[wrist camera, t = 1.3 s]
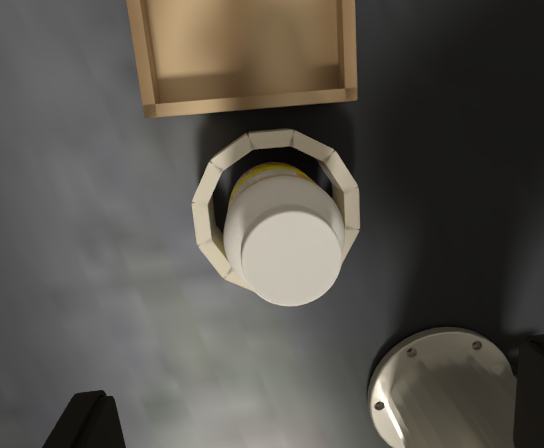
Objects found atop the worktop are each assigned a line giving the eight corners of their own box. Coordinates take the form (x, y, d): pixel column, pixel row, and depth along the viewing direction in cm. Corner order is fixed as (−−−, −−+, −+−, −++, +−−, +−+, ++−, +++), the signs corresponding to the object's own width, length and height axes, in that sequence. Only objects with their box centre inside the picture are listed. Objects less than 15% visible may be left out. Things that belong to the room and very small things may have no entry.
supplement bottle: (321, 239, 32) (369, 316, 20) (237, 251, 32) (231, 337, 20) (311, 153, 30) (357, 179, 18) (222, 166, 30) (206, 200, 18)
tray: (342, -93, 27) (351, -113, 24) (348, 101, 30) (357, 100, 27) (123, -79, 26) (111, -98, 24) (152, 117, 29) (144, 117, 27)
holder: (342, 123, 30) (357, 124, 26) (347, 265, 33) (361, 284, 29) (191, 136, 30) (182, 139, 26) (209, 278, 32) (204, 300, 28)
